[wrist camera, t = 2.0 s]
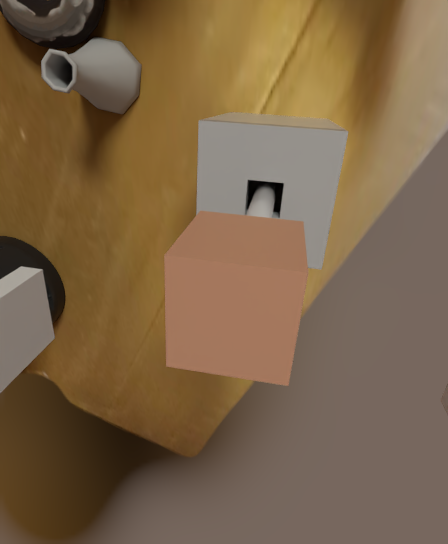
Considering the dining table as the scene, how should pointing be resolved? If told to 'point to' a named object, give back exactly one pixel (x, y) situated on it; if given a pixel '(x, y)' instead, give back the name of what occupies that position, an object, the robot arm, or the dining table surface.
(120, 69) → the flask
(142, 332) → the dining table surface
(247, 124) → the slotted white box
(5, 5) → the donut
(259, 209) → the pump plunger
